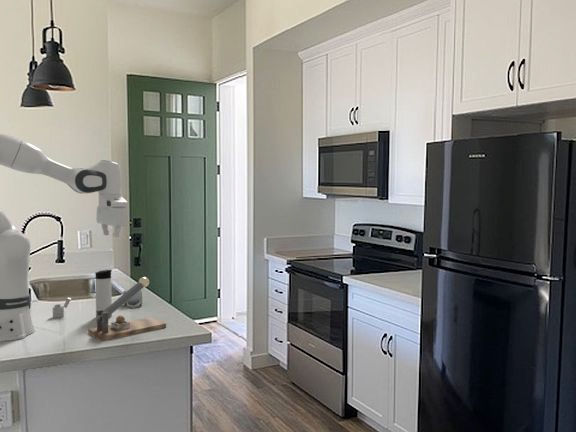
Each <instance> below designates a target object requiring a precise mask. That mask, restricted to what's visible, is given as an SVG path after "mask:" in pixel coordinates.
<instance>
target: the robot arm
mask: <svg viewBox="0 0 576 432" xmlns="http://www.w3.org/2000/svg"><path fill="white" fill-rule="evenodd" d="M0 166H3V167H5V168H9V169H11V170H14V171H17V172H18V171H19V172H22V173H25V174H34V175H35V174H37V175H42V176H43V175H44V176H46V177H50V178H52V179H55V180H57V181H59V182H62V183H64V184H66V185H67V186H69V188H71V190H73V191H74V192H76V193H78V194H86V195H87V194H93V193H96V192H97V193H98V205H97V208H96V223H97V224H101V228H102V235H103V236H109V235H110V231H109V229H108V226H111V227H112V226H113V229H114V231H113V232H112V234H113V235H112V236H113V238H120V232H121V227H125V226H126V225H127V219H128V218H127V217H128V216H127V214H128V212H127V208H126V207H128V201H127V200H126V199H125V198H124V197H123V193H122V184H123V181H122V180H123V178H122V176H123V175H122V168H121V166H120V164H119V163H118V162H116V161H113V160H105V159H102V160H100V161H98V162H96V163H95V164H94V165H91V166H89V167H86V168H73V167H69V166H66V165H65V164H61V163H59V162H57V161H54V160H52V159H51V158H49V157H48V156H47V155H45V153H44V152H43V151H42V149H40V148H38V147H37V146H35V145H33V144H31V143H30V142H27V141H26V140H23V139H20V138H18V137H14V136H12V135H9V134H8V135H7V134H6V133H5V134H3V133H0ZM30 258H31V242H30V239H29V237H28V236H27V235H26V234H24V233H23V232H21V231H19V229H17V227H16V226H15V225H14V224H13V222H12V221H11V220H10V219H9V218H8V216H7V215H6V214H5V212H4V211H3V210H2V209H1V208H0V342H5V341H7V342H8V341H14V340H23V339H24V338H25V337H27V336H29V335H31V334H33V333H34V332H36V331H35V328H34V325H33V321H32V314H31V305H32V303H31V302H32V301H31V300H32V299H31V294H30V292H29V291H30V290H29V287H30V285H29V270H30V269H29V268H30V262H31V261H30V260H31V259H30Z"/></svg>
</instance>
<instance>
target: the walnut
mask: <svg viewBox="0 0 576 432" xmlns="http://www.w3.org/2000/svg"><path fill="white" fill-rule="evenodd" d="M115 319H116V320H115V321H116V322H117V323H118V324H122V323H124V321H126V317H124V316H123V315H118V316H117V317H116V318H115Z"/></svg>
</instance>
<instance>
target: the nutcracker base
mask: <svg viewBox="0 0 576 432" xmlns="http://www.w3.org/2000/svg"><path fill="white" fill-rule="evenodd" d="M102 312H103V310H97V316H98V315H99V314H100V313H101V314H102V322H101V321H99V320H98V318H96V327H93V328H88V330H87V332H88V334H89V335H90V336H92V337H94V338H96V339H97V340H99V341H107V340H112V339H117V338H121V337H125V336H131V335H135V334H140V333H145V332H149V331H156V330H159V329H163V328H167V323H166V322H164V321H162V320H159V319H157V318H154V317H152V316H151V317H146V318H140V319H135V320H130V321H128V320H125V321H124V323H122V324H118V323H117V322H116V320H115V321H112V322H111V324H110V325H109V318H108V312H103V313H102Z"/></svg>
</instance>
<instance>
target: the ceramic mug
mask: <svg viewBox="0 0 576 432" xmlns="http://www.w3.org/2000/svg"><path fill="white" fill-rule="evenodd" d="M129 289H130V288H127V289H124V290H123V292H122V293H123V294H125V293H126V292H127V291H128V290H129ZM123 294H122V295H123ZM123 305H125V306H127V307H128V308H130V309H135V308H138V307H140V305H143V292H142V289H141V290H140V291H138V292H137V293H136V294H135V295H134V296H133V297H131V298H130V299H129V300H128V301H127V302H125V303H124V304H123Z"/></svg>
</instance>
